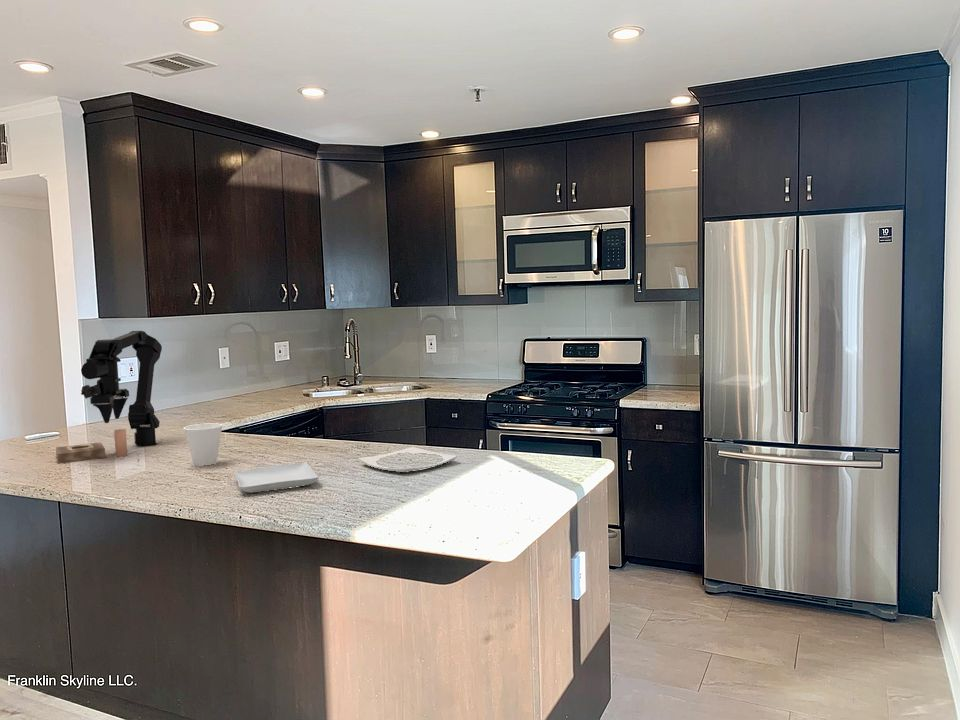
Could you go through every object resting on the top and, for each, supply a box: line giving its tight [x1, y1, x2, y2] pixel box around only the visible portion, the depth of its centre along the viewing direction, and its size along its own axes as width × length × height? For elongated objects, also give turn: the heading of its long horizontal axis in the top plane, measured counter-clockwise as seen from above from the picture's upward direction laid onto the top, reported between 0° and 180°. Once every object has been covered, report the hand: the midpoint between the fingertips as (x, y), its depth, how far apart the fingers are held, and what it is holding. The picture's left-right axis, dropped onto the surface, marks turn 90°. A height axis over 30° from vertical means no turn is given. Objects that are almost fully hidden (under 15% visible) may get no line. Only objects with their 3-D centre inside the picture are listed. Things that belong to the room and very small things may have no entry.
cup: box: [183, 422, 223, 467], centre depth 229 cm, size 12×12×12 cm
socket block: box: [55, 441, 106, 464], centre depth 246 cm, size 14×14×4 cm
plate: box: [358, 446, 458, 473], centre depth 222 cm, size 24×24×3 cm
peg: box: [113, 428, 128, 458], centre depth 246 cm, size 4×4×9 cm
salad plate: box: [233, 461, 319, 494], centre depth 202 cm, size 21×21×3 cm
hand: (112, 420), depth 246 cm, fingers open, 9 cm apart
